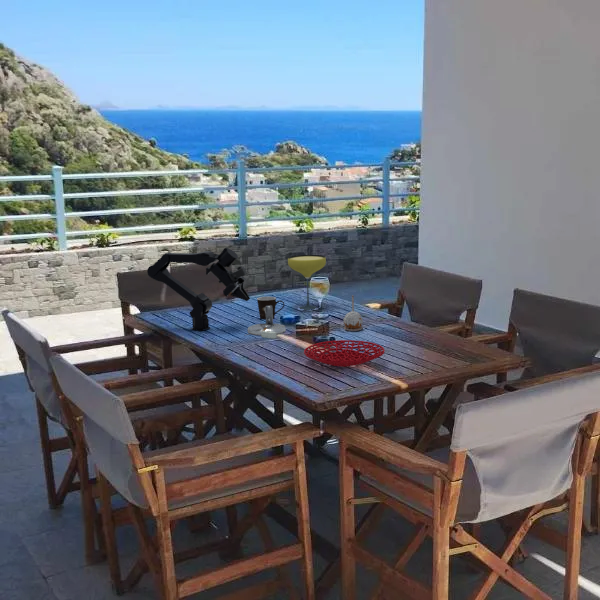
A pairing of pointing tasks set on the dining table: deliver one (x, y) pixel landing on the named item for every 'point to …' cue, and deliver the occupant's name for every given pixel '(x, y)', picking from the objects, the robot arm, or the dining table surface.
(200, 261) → the robot arm
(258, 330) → the turntable platter
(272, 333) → the base plate
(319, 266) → the cocktail glass
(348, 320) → the decorative ornament
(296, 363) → the dining table surface
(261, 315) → the coffee mug
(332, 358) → the bowl
